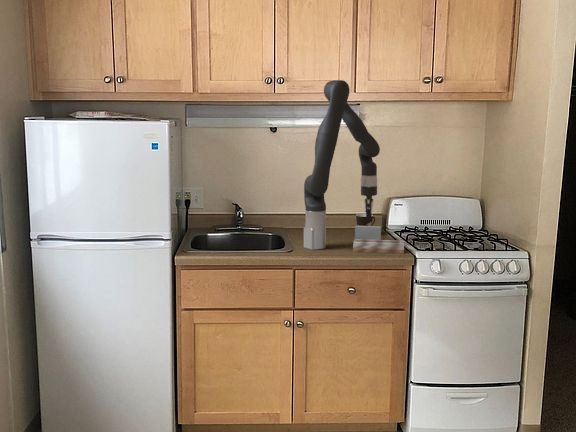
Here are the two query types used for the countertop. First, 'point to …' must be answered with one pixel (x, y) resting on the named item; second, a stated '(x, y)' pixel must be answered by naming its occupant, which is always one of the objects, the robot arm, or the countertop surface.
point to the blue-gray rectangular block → (368, 232)
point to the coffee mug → (364, 220)
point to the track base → (378, 246)
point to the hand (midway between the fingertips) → (368, 219)
